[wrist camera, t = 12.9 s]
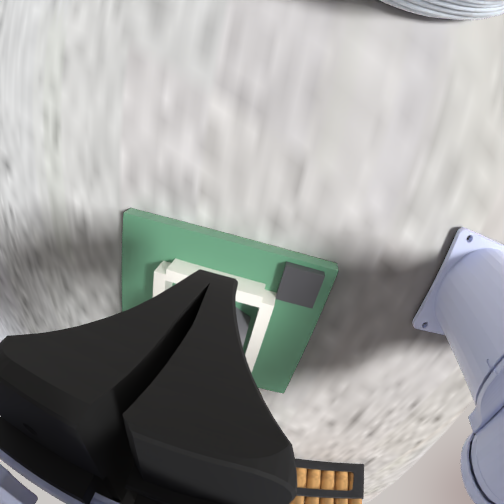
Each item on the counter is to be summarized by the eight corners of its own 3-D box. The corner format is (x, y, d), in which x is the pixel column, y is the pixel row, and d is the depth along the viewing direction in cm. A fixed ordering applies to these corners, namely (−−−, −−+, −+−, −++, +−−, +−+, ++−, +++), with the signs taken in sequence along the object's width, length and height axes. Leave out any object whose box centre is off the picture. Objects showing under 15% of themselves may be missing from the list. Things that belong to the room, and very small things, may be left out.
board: (337, 263, 19) (340, 283, 17) (284, 384, 25) (281, 407, 22) (131, 207, 20) (111, 220, 18) (128, 337, 25) (116, 355, 23)
